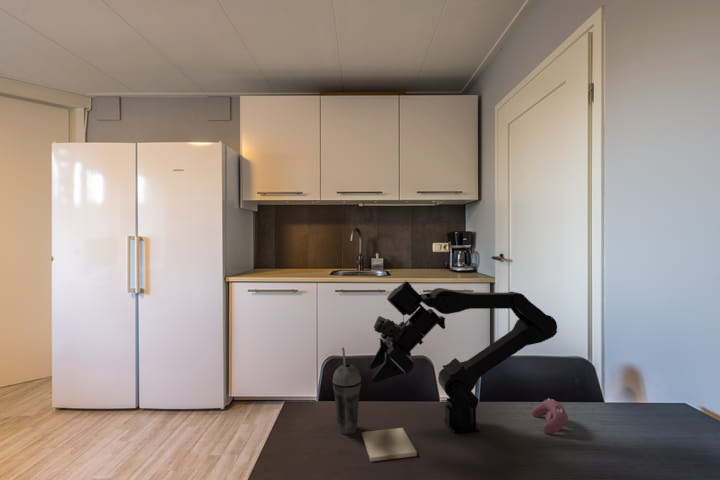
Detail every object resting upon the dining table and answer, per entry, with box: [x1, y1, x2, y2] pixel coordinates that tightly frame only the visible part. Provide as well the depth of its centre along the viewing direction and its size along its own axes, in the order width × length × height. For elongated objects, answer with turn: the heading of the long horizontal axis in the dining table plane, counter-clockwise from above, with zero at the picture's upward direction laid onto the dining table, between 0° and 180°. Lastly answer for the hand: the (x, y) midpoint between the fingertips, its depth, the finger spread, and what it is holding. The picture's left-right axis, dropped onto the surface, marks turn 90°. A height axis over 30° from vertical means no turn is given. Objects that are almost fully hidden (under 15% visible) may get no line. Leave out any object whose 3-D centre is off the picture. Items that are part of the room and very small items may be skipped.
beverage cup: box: [332, 347, 362, 435], centre depth 83 cm, size 7×7×20 cm
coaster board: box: [361, 427, 418, 462], centre depth 75 cm, size 10×10×1 cm
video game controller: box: [531, 397, 569, 435], centre depth 83 cm, size 10×5×7 cm, turn 169°
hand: (371, 374), depth 83 cm, fingers open, 9 cm apart
